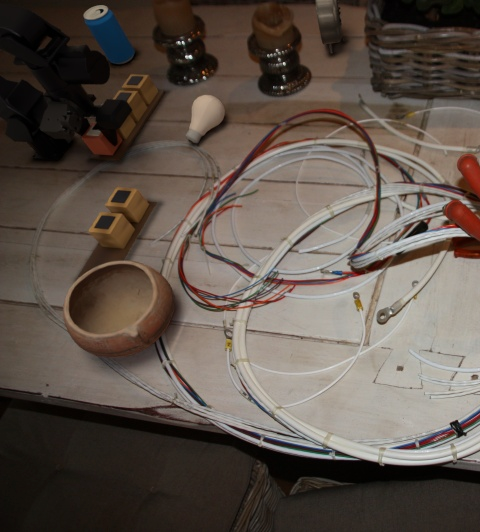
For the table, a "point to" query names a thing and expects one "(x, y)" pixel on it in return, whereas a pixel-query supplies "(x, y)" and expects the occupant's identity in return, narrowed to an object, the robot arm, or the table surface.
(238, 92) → the table surface
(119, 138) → the letter S
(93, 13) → the beverage can
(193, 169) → the table surface
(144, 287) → the bowl
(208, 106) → the light bulb
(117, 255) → the wooden block tray
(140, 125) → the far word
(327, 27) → the alarm clock
